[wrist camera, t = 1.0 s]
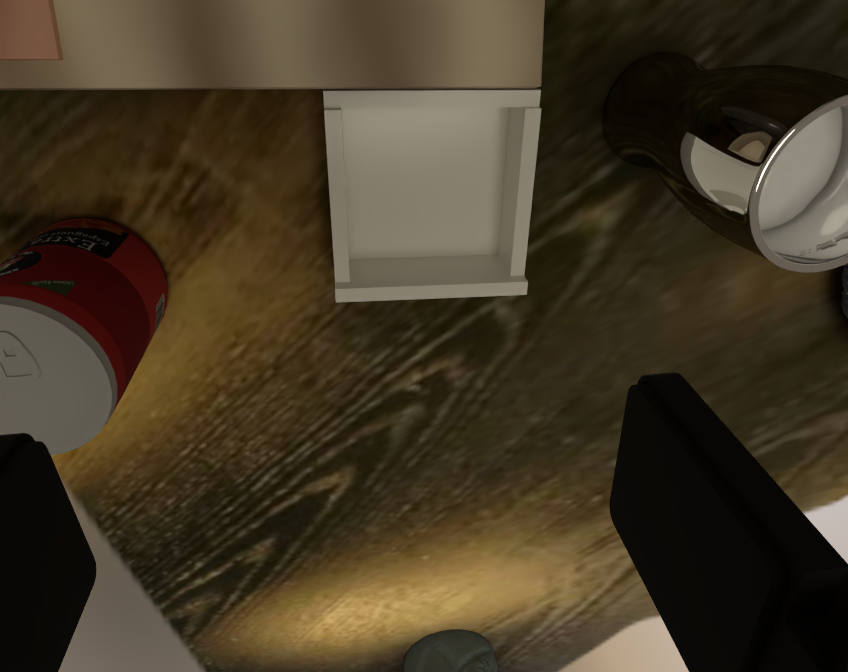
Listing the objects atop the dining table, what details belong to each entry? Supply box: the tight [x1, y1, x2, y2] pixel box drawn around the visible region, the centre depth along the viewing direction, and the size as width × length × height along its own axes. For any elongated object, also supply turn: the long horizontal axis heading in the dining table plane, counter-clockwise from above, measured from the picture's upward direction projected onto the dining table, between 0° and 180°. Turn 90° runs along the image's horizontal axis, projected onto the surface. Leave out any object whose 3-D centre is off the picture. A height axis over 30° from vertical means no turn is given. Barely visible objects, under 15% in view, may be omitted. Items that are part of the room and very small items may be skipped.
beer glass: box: [603, 52, 848, 273], centre depth 28 cm, size 7×7×15 cm
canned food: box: [0, 218, 168, 455], centre depth 31 cm, size 8×8×11 cm
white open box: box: [323, 88, 541, 302], centre depth 33 cm, size 11×11×4 cm
